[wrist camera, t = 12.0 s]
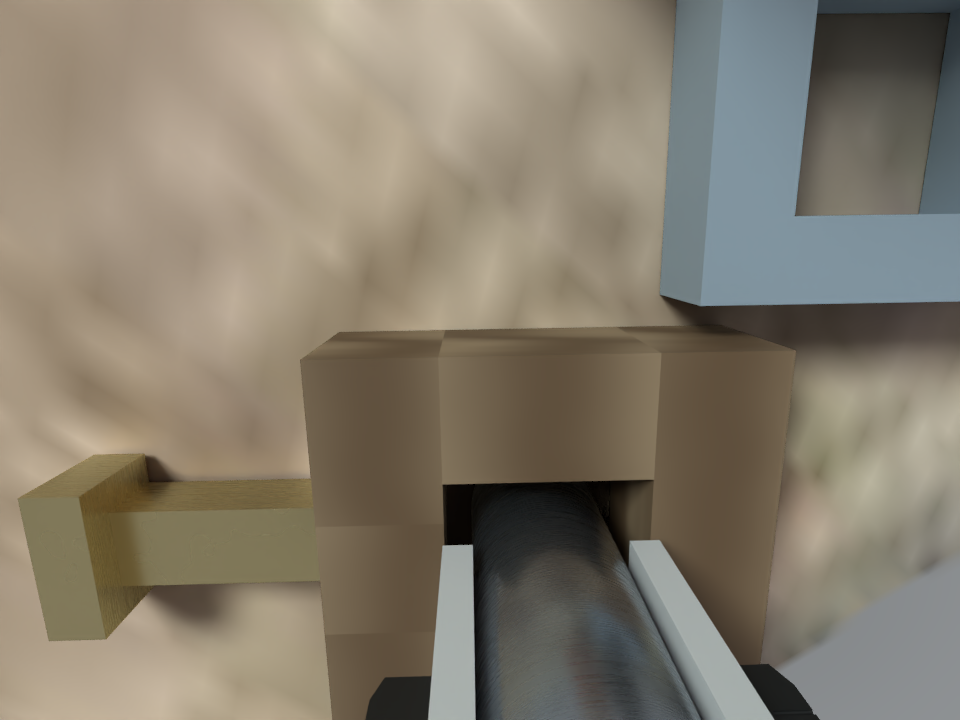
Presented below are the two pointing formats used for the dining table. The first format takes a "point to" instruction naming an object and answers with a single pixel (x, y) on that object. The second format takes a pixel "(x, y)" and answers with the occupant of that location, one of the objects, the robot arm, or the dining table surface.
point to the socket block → (536, 466)
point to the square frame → (790, 169)
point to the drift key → (156, 539)
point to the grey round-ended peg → (561, 614)
